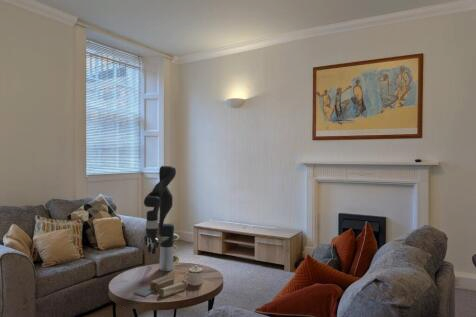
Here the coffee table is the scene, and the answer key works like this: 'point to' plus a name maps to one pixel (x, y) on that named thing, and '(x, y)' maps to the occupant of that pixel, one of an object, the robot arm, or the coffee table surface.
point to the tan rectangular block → (161, 283)
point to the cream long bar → (172, 289)
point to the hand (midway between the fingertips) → (151, 252)
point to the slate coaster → (144, 292)
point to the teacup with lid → (195, 276)
